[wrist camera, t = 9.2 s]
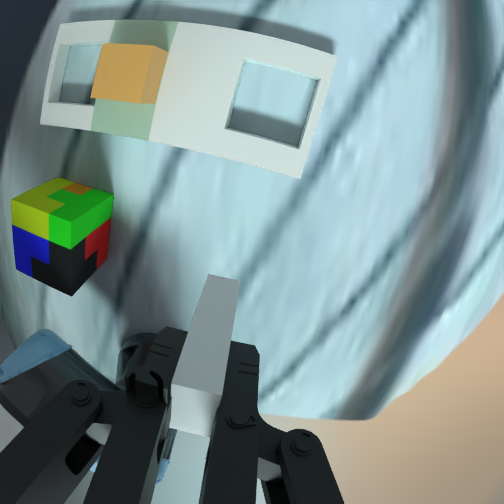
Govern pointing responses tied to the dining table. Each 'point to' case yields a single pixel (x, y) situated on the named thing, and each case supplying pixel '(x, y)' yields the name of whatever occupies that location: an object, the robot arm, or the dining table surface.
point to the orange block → (129, 73)
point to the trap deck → (191, 89)
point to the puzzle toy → (61, 232)
